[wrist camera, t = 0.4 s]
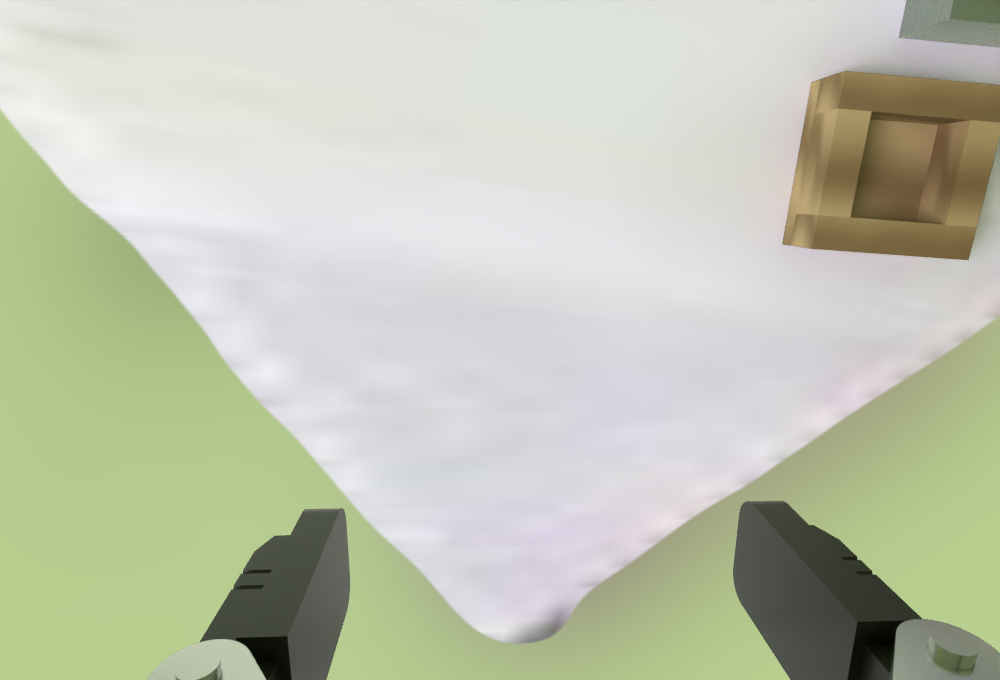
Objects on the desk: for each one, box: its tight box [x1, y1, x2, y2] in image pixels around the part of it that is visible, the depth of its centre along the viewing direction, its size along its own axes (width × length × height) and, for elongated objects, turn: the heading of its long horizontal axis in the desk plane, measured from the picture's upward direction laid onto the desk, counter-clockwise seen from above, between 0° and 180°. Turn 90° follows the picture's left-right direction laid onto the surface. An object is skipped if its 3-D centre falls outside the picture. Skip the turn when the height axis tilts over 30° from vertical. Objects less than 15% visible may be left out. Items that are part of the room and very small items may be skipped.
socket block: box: [782, 71, 1000, 260], centre depth 37 cm, size 10×10×4 cm
